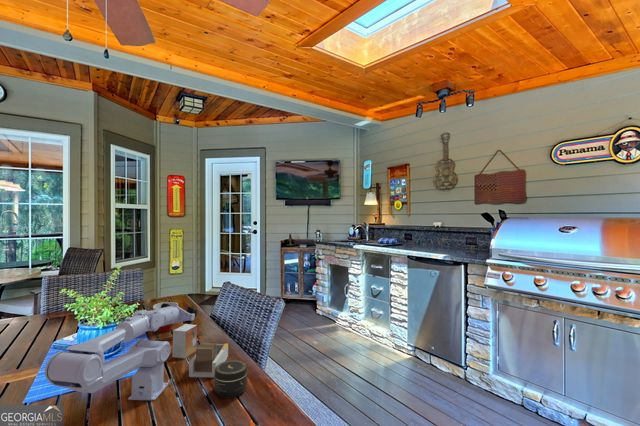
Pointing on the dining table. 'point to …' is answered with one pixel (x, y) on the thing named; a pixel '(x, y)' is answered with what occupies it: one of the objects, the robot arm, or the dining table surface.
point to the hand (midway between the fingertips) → (186, 311)
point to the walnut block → (205, 356)
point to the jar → (230, 378)
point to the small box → (184, 341)
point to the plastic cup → (166, 327)
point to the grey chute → (220, 357)
